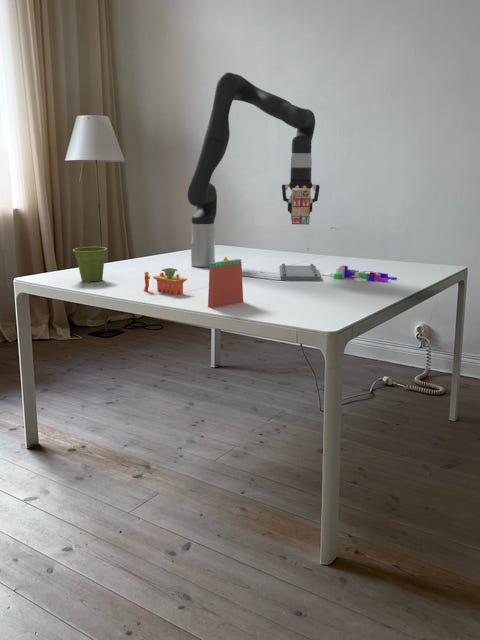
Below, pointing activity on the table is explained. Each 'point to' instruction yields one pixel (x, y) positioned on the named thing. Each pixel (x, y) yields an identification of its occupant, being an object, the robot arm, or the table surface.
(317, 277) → the baseplate
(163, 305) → the table surface
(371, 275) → the building block set
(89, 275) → the plant pot
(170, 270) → the toy building block set
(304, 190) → the stack of blocks
